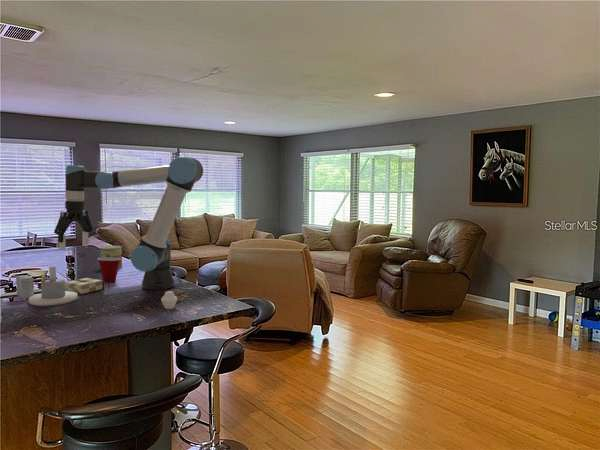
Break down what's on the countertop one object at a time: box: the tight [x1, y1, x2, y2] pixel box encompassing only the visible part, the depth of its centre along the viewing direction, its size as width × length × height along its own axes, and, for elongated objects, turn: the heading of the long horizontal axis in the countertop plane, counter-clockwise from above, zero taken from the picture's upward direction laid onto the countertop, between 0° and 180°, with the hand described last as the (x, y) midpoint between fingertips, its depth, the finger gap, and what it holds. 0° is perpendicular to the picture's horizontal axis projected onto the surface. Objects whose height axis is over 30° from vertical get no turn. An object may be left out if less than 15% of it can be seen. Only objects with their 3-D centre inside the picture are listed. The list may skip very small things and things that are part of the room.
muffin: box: [160, 290, 178, 310], centre depth 178 cm, size 6×6×7 cm
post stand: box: [27, 265, 79, 307], centre depth 186 cm, size 18×18×14 cm
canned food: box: [100, 245, 123, 270], centre depth 258 cm, size 11×11×12 cm
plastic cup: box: [97, 257, 121, 284], centre depth 222 cm, size 11×11×12 cm
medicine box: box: [15, 274, 35, 300], centre depth 191 cm, size 8×4×9 cm, turn 47°
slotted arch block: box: [65, 277, 104, 295], centre depth 205 cm, size 11×11×4 cm
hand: (74, 247), depth 200 cm, fingers open, 13 cm apart
